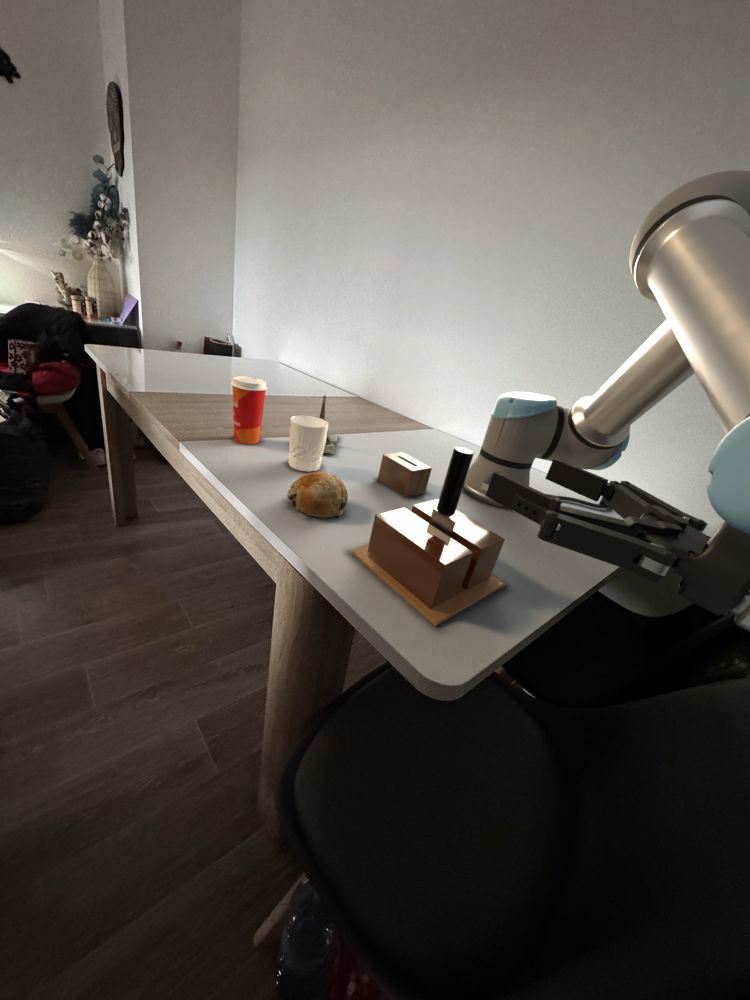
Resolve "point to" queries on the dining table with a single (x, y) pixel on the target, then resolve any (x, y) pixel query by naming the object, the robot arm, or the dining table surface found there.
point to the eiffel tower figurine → (330, 441)
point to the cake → (433, 560)
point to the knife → (451, 490)
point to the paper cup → (248, 408)
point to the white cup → (306, 442)
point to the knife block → (404, 474)
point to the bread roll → (318, 495)
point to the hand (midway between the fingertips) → (523, 475)
